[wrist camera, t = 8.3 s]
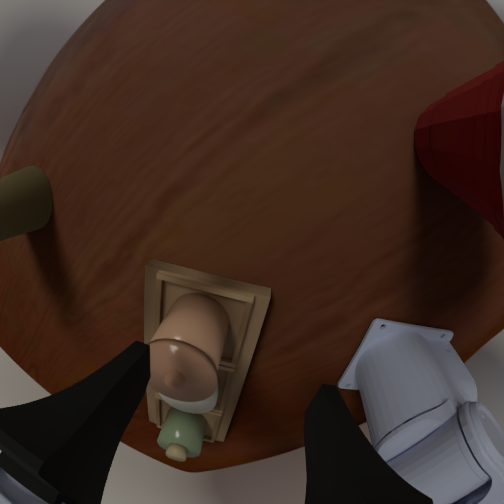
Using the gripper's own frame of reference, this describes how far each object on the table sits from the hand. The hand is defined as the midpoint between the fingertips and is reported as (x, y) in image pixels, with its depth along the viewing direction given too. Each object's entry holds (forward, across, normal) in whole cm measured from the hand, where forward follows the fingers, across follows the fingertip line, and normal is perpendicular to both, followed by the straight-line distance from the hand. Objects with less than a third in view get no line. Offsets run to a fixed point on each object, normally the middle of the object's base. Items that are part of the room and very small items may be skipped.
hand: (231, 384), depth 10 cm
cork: (+10, +21, -2) cm, 23 cm away
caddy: (+10, +3, +11) cm, 15 cm away
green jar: (+9, +3, +18) cm, 20 cm away
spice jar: (+9, +3, +4) cm, 10 cm away
